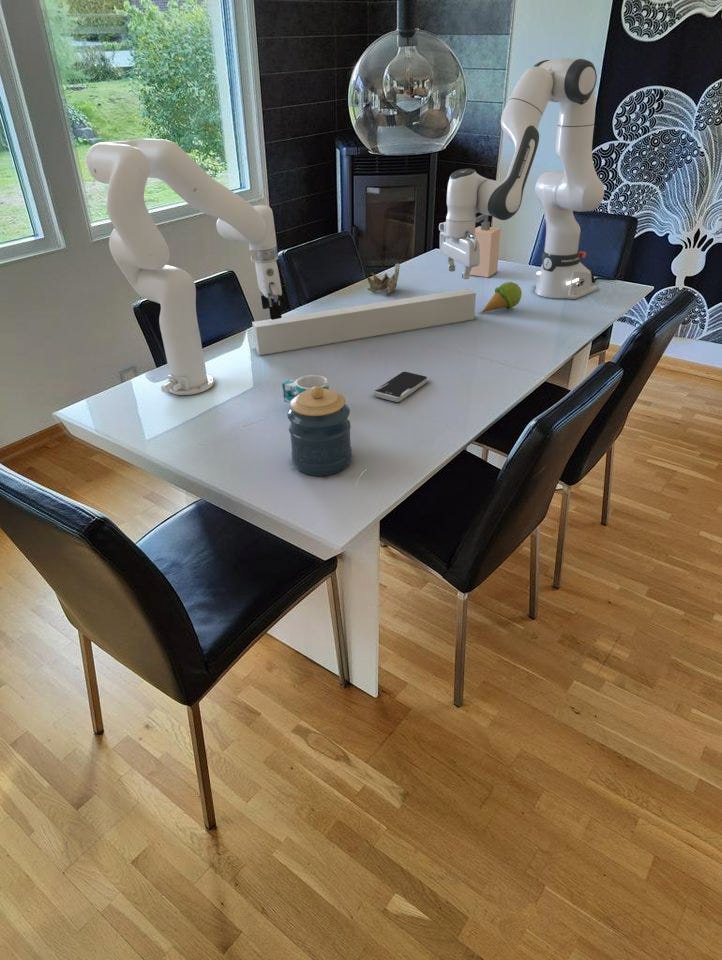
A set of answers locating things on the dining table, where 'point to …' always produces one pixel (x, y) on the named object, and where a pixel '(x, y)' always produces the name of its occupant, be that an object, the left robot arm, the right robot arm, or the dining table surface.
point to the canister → (320, 432)
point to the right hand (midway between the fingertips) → (458, 274)
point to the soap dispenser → (486, 248)
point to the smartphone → (400, 386)
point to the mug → (302, 386)
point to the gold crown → (384, 281)
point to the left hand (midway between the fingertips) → (272, 313)
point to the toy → (504, 297)
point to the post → (362, 321)
